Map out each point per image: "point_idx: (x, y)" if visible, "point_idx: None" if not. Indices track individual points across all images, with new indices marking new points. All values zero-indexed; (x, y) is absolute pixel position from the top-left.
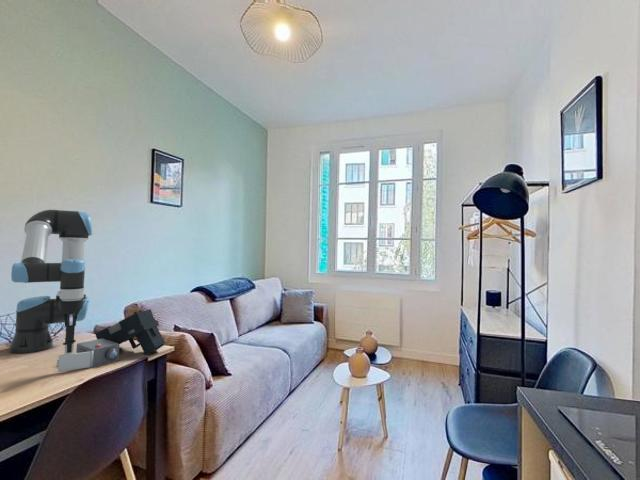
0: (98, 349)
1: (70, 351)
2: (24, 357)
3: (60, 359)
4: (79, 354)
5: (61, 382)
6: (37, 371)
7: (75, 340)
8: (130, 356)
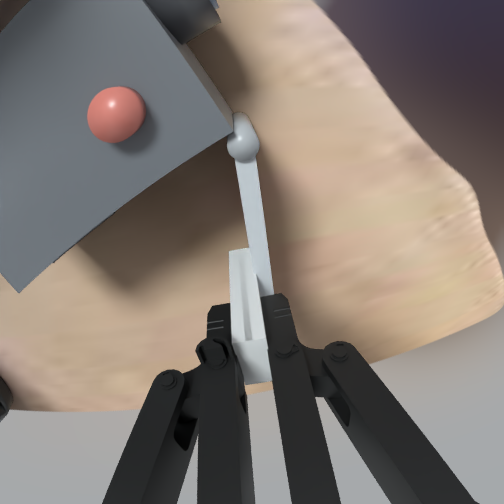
0: (207, 90)
1: (288, 303)
2: (37, 384)
3: None
4: (265, 229)
5: (405, 232)
6: None
7: (223, 347)
8: None
